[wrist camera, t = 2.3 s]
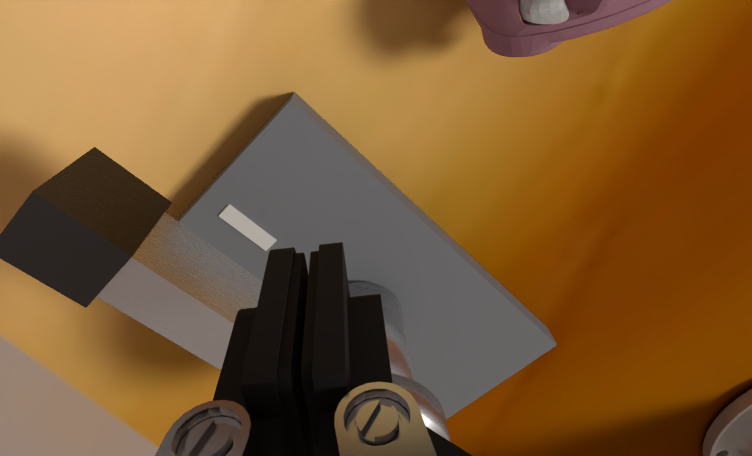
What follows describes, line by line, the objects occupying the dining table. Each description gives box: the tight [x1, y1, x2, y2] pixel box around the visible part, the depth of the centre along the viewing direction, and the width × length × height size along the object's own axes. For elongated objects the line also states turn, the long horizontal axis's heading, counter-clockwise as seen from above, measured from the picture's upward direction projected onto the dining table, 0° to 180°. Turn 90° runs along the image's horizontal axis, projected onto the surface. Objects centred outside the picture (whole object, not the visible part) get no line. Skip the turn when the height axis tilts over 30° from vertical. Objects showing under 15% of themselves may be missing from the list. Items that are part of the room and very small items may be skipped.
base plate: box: [177, 92, 557, 419], centre depth 26 cm, size 20×12×2 cm, turn 45°
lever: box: [0, 147, 451, 442], centre depth 19 cm, size 17×6×9 cm, turn 45°
